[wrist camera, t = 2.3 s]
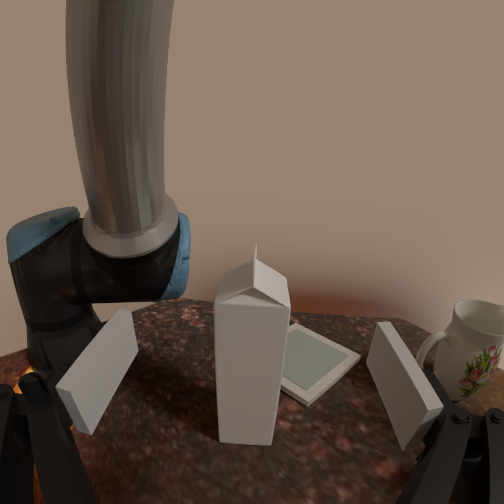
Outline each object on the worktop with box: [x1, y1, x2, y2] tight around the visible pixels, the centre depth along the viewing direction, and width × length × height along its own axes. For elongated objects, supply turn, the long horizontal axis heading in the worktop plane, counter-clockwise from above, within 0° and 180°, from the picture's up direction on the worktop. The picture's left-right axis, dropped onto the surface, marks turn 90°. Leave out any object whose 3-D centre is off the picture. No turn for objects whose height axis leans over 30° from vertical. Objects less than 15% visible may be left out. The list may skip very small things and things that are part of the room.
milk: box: [214, 245, 291, 445], centre depth 28 cm, size 6×6×22 cm
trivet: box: [280, 323, 361, 407], centre depth 44 cm, size 14×14×1 cm
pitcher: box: [415, 300, 504, 401], centre depth 32 cm, size 11×18×14 cm, turn 86°
